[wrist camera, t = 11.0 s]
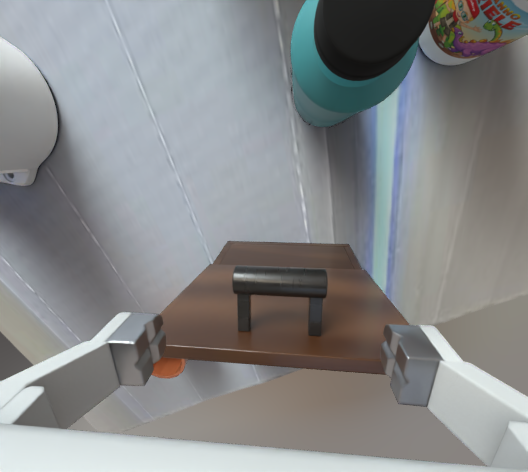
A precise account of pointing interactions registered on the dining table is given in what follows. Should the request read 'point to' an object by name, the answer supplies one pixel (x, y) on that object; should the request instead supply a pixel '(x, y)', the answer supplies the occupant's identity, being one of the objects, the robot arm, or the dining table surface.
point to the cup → (169, 367)
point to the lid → (281, 318)
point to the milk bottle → (472, 28)
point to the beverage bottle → (352, 54)
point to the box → (288, 255)
